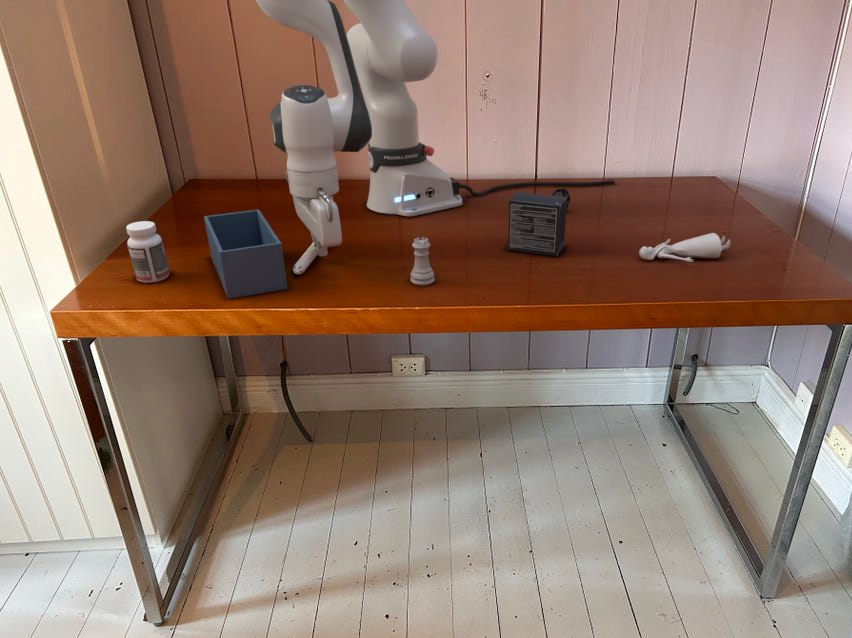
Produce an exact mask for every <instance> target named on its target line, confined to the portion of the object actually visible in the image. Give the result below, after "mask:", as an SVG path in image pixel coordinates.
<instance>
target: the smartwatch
mask: <svg viewBox="0 0 852 638" xmlns="http://www.w3.org/2000/svg"><path fill="white" fill-rule="evenodd" d="M551 196H560V197H567V208H569V205H570V204H571V196H570V192H569V191H568V190H567V188H566V187H563V188H561V187H560V188H557V189H556V190H554V191H553V193H552V195H551Z"/></svg>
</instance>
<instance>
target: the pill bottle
mask: <svg viewBox="0 0 852 638" xmlns="http://www.w3.org/2000/svg"><path fill="white" fill-rule="evenodd" d="M156 231H157V227H156V224H155V222H154V221H149V220H142V221H135V222H131V223H128V224H127V225H126V234H127V235H128V236H129V238H128V239H127V243H126V244H127V249H128V253H129V255H130V256H129V257H130V261H131V263H132V264H131V265H132V267H133V273H134V275H135V279H136V280H137V281H138V282H140V283H145V284H151V283H158V282H161V281H164V280H166V279H167V278H169V276H170V267H169V264H168V260H167V256H166V252H165V246H164V242H163V239H162V237H161V236H160V235H159V234H158V233H156Z"/></svg>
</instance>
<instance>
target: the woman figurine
mask: <svg viewBox="0 0 852 638" xmlns="http://www.w3.org/2000/svg"><path fill="white" fill-rule="evenodd" d="M722 236H723V237H722V238H721V239H720V236H719V235H718V234H717V233H715V232H711V233H707V234H703V235H699V236H696V237H692V238H687V239H684V240H681V241H679V242H676V243H674V244H672V245H669V243H670V242H671V240H672V238H668V239H667V240H666V241H665V242H662V243H659V244H657V245H656V246H655V247H652V246H645V245H644V246H642V247H641V248H640V249H639V251H638V254H639V255H638V256H639V257H640V258H641V259H642V260H644V261H651V260H654V259H655V258H656V257H657V258H660V259H672V260H678V261H684V262H687V263H694V259H715V260H717V259H719V258H720V257H721V254H722V251H724V250H727V249H730V248H731V246H730V245H731V240H730V239H727V242H726V243H725V241H726V236H725V235H722ZM692 258H693V259H692Z"/></svg>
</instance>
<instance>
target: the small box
mask: <svg viewBox="0 0 852 638" xmlns="http://www.w3.org/2000/svg"><path fill="white" fill-rule="evenodd" d="M567 197H568V196H567ZM567 197H560V196H552V195H551V194H549V195H548V194H540V193H531V192H530V193H529V192H519V191H518V192H516V193H515V194H514V195H512V196H511V198H508V225H507V226H508V227H507V229H508V232H507V249H506V250H507V251H511V252H519V253H528V254H534V255H543V256H549V257H550V256H551V257H558V256H559V255H560V253H561V251H563V249H564V247H565V239H566V238H565V237H566V236H565V235H566V223H567V209H568V207H567Z"/></svg>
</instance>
